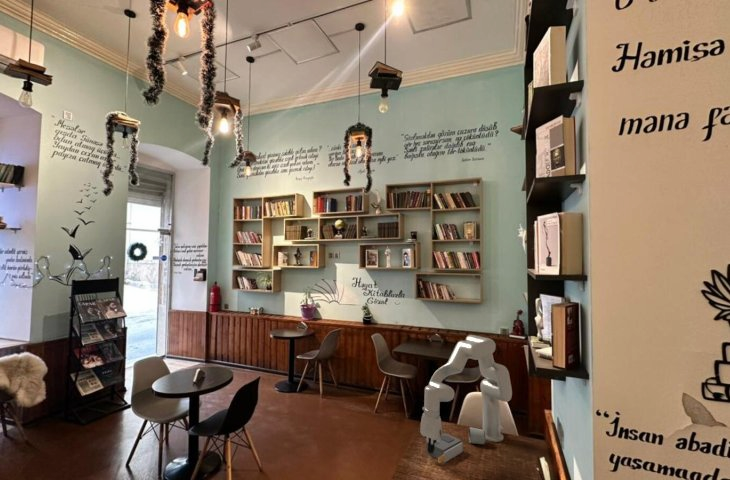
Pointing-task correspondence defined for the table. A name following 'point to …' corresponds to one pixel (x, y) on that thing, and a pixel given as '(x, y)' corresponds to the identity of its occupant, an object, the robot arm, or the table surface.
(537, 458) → the table surface
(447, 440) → the grey control box
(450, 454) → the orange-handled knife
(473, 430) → the ceramic mug
